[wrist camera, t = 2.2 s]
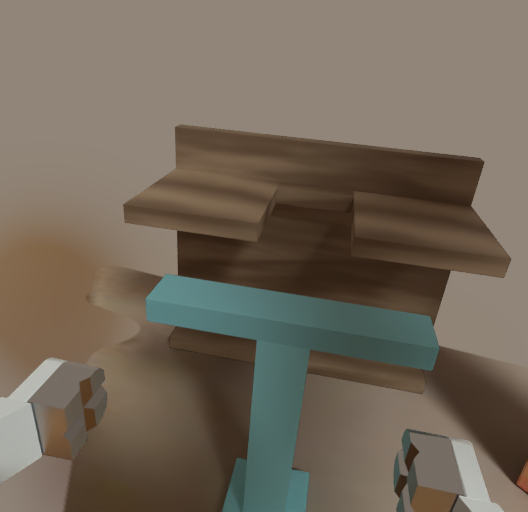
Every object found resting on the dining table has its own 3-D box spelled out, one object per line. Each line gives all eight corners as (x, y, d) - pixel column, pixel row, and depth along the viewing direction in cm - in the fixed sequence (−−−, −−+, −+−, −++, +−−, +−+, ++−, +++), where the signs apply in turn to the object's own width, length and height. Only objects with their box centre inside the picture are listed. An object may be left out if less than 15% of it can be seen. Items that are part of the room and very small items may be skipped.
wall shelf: (435, 458, 38) (532, 203, 27) (138, 398, 41) (119, 151, 31) (416, 365, 49) (479, 158, 38) (183, 324, 52) (180, 124, 42)
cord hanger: (372, 578, 29) (445, 368, 21) (149, 524, 31) (133, 313, 23) (369, 496, 34) (426, 302, 26) (179, 454, 36) (174, 263, 28)
